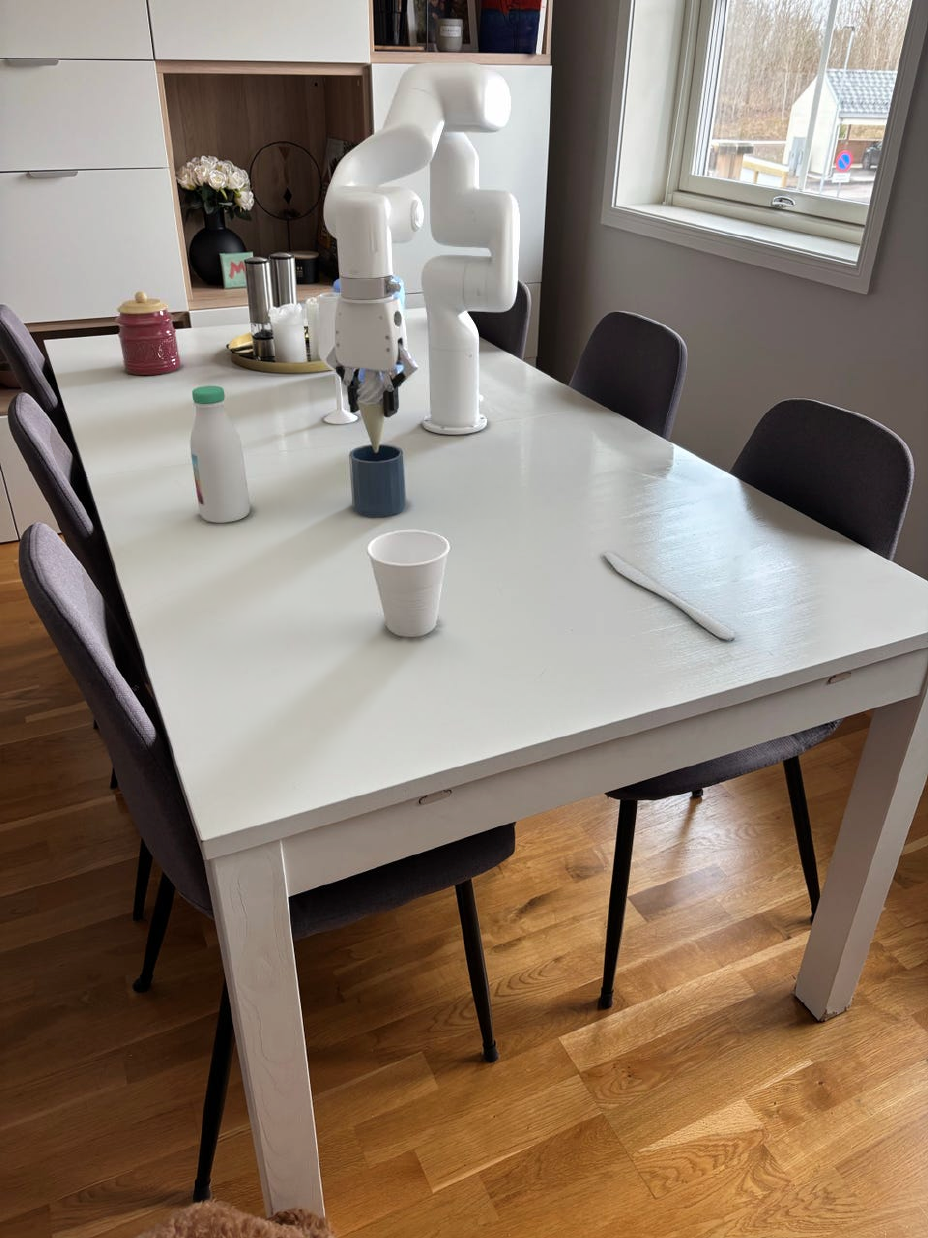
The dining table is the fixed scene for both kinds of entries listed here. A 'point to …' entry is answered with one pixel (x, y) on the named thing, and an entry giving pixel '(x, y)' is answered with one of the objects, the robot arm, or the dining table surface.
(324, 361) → the champagne flute
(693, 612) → the butter knife
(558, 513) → the dining table surface
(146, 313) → the kitchen canister
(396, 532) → the cup
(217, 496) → the milk bottle
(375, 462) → the tumbler
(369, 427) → the ice cream cone
